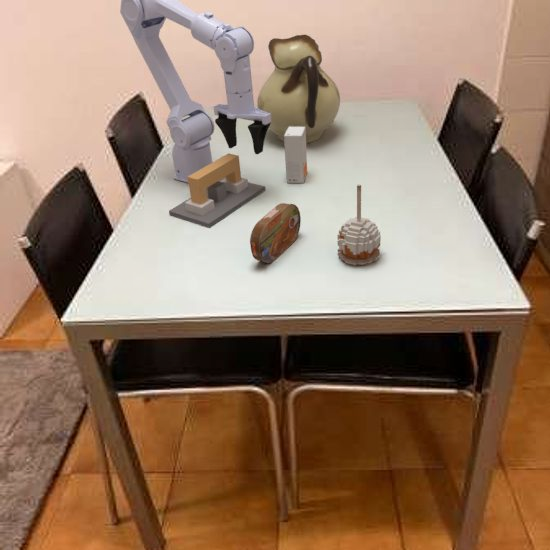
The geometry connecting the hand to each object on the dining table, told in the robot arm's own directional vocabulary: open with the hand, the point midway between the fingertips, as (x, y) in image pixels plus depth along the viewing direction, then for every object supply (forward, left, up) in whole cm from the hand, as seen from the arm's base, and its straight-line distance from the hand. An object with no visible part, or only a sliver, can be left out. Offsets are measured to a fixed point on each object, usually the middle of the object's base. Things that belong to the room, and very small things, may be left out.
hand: (245, 149), depth 135 cm
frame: (-3, -8, -7) cm, 11 cm away
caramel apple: (+36, -12, -11) cm, 39 cm away
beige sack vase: (-8, +34, -11) cm, 37 cm away
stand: (-3, -8, -10) cm, 13 cm away
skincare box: (+6, +11, -11) cm, 16 cm away
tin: (+21, -18, -11) cm, 30 cm away
